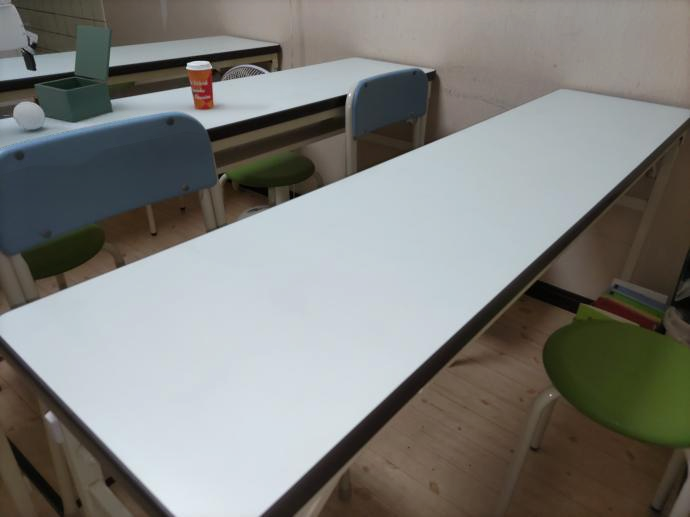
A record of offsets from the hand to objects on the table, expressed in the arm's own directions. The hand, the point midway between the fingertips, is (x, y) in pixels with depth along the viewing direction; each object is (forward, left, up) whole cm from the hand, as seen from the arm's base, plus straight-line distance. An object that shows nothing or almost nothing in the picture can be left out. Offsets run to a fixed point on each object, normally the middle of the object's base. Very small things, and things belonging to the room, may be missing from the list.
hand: (14, 73), depth 131 cm
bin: (+17, +2, -14) cm, 22 cm away
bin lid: (+26, +2, +2) cm, 26 cm away
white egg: (0, 0, -15) cm, 15 cm away
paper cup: (+42, -25, -15) cm, 51 cm away
